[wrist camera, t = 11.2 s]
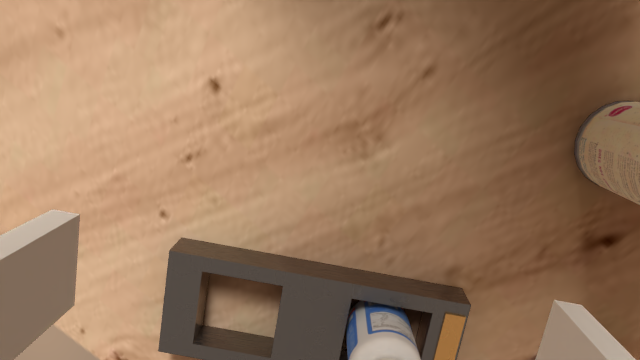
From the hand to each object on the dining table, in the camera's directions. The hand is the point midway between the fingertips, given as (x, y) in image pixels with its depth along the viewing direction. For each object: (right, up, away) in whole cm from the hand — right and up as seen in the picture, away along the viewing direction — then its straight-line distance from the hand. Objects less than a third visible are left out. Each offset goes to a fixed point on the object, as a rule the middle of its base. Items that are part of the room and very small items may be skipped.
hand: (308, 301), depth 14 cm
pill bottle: (+5, -9, +29) cm, 31 cm away
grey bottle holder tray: (0, -8, +29) cm, 30 cm away
